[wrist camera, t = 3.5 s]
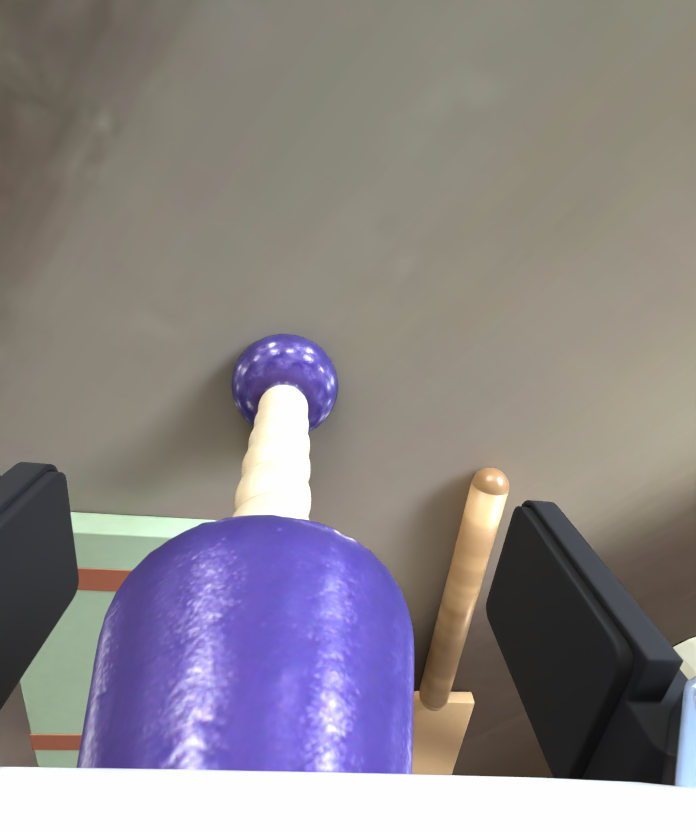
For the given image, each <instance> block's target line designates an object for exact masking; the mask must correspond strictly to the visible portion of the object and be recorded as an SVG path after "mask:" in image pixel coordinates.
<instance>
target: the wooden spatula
mask: <svg viewBox="0 0 696 832" xmlns="http://www.w3.org/2000/svg"><path fill="white" fill-rule="evenodd" d="M508 491H509V482H508V479H507V478H506V476H505V475H504V474H503V473H502V472H501V471H500V470H498V469H495V468H484V469H481V470H479V471H478V472H477V473H476V474H475V475H474V477H473V479H472V482H471V486H470V490H469V494H468V498H467V502H466V506H465V510H464V514H463V518H462V522H461V526H460V530H459V534H458V538H457V542H456V546H455V550H454V554H453V557H452V561H451V565H450V569H449V573H448V577H447V581H446V585H445V589H444V593H443V597H442V601H441V605H440V609H439V613H438V617H437V621H436V625H435V629H434V633H433V637H432V641H431V645H430V649H429V653H428V657H427V661H426V665H425V669H424V673H423V677H422V680H421V684H420V688H419V691H414V693H413V758H412V774H420V775H452V771H453V768H454V765H455V762H456V759H457V756H458V753H459V750H460V747H461V744H462V740H463V737H464V734H465V731H466V728H467V725H468V722H469V719H470V716H471V713H472V709H473V706H474V700H473V697H472V694H471V692H450V691H451V688H452V684H453V681H454V678H455V674H456V671H457V667H458V664H459V660H460V657H461V653H462V650H463V646H464V643H465V640H466V636H467V633H468V629H469V626H470V622H471V619H472V615H473V612H474V608H475V605H476V602H477V598H478V595H479V591H480V588H481V584H482V581H483V577H484V574H485V570H486V567H487V564H488V560H489V557H490V553H491V550H492V546H493V543H494V539H495V536H496V532H497V529H498V526H499V522H500V519H501V515H502V512H503V508H504V505H505V501H506V498H507V494H508Z"/></svg>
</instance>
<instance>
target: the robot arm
mask: <svg viewBox="0 0 696 832" xmlns="http://www.w3.org/2000/svg"><path fill="white" fill-rule="evenodd" d="M78 584H79V575H78V567H77V559H76V551H75V544H74V536H73V528H72V520H71V512H70V505H69V497H68V489H67V481H66V477H65V475H64V474H63V473H62V472H58V471H57V469H56V467H55V466H54V465H52V464H40V463H27V462H20V463H18V464H16V465H15V466H13V467H12V468H11V469H10V470H8V471H7V472H6V473H5V474H3V475H2V476H1V477H0V710H1V708H2V707H3V705H4V703H5V702H6V700H7V699H8V697H9V696H10V694H11V693H12V691H13V690H14V688H15V687H16V685H17V684H18V682H19V681H20V679H21V678H22V676H23V675H24V673H25V671H26V670H27V668H28V667H29V665H30V664H31V662H32V661H33V659H34V658H35V656H36V655H37V653H38V652H39V650H40V649H41V647H42V646H43V644H44V643H45V641H46V640H47V638H48V636H49V635H50V633H51V632H52V630H53V629H54V627H55V626H56V624H57V623H58V621H59V620H60V618H61V617H62V615H63V614H64V612H65V611H66V609H67V608H68V606H69V604H70V603H71V601H72V600H73V598H74V597H75V595H76V592H77V589H78ZM486 611H487V617H488V620H489V622H490V625H491V627H492V630H493V632H494V635H495V637H496V639H497V642H498V644H499V647H500V649H501V652H502V654H503V656H504V659H505V661H506V664H507V666H508V669H509V671H510V673H511V676H512V678H513V681H514V683H515V686H516V688H517V690H518V693H519V695H520V698H521V700H522V703H523V705H524V707H525V710H526V712H527V715H528V717H529V720H530V722H531V724H532V727H533V729H534V732H535V734H536V737H537V739H538V741H539V744H540V746H541V749H542V751H543V754H544V756H545V758H546V761H547V763H548V766H549V768H550V771H551V773H552V775H553V777H554V778H533V777H495V776H457V775H420V774H382V773H336V772H289V771H239V770H188V769H125V768H56V767H0V832H696V676H695V677H693V678H691V679H690V680H688V678H687V677H686V676H685V675H684V673H683V672H682V671H681V670H680V667H681V665H682V663H683V659H682V658H681V657H680V656H679V655H678V653H677V652H676V651H675V650H674V648H673V647H672V646H671V645H670V643H669V642H668V641H667V640H666V639H665V637H664V636H663V635H662V634H661V632H660V631H659V630H658V629H657V628H656V626H655V625H654V624H653V623H652V621H651V620H650V619H649V618H648V616H647V615H646V614H645V613H644V612H643V610H642V609H641V608H640V607H639V605H638V604H637V603H636V602H635V601H634V599H633V598H632V597H631V596H630V594H629V593H628V592H627V591H626V589H625V588H624V587H623V586H622V585H621V583H620V582H619V581H618V580H617V578H616V577H615V576H614V575H613V574H612V572H611V571H610V570H609V569H608V567H607V566H606V565H605V564H604V562H603V561H602V560H601V559H600V558H599V556H598V555H597V554H596V553H595V551H594V550H593V549H592V548H591V547H590V545H589V544H588V543H587V542H586V540H585V539H584V538H583V537H582V535H581V534H580V533H579V532H578V531H577V529H576V528H575V527H574V526H573V524H572V523H571V522H570V521H569V520H568V518H567V517H566V516H565V515H564V513H563V512H562V511H561V510H560V509H559V507H558V506H557V505H556V504H555V503H553V502H543V501H530V500H527V501H525V502H524V503H523V504H522V506H518V507H516V508H515V509H514V512H513V515H512V518H511V521H510V525H509V528H508V531H507V535H506V538H505V542H504V545H503V548H502V552H501V555H500V558H499V562H498V565H497V568H496V572H495V575H494V578H493V582H492V585H491V589H490V592H489V595H488V599H487V603H486Z"/></svg>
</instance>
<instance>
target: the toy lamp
mask: <svg viewBox="0 0 696 832" xmlns="http://www.w3.org/2000/svg"><path fill="white" fill-rule="evenodd" d="M337 390H338V383H337V376H336V372H335V369H334V367H333V364H332V362H331V360H330V358H329V357H328V356H327V355H326V353H325V352H324V351H323V350H322V349H321V348H320V347H319V346H317V345H316V344H314V343H313V342H311V341H309V340H307V339H305V338H303V337H300V336H296V335H288V334H279V335H273V336H269V337H266V338H263V339H261V340H259V341H257V342H255V343H253V344H252V345H251V346H250V347H248V349H246V350H245V351H244V353H243V354H242V355H241V357H240V358H239V359H238V361H237V364H236V366H235V369H234V372H233V376H232V392H233V398H234V401H235V403H236V406H237V408H238V410H239V412H240V413H241V415H242V416H243V418H244V419H245V420H246V421H247V422H248V423H250V424H251V425H252V426H253V427H254V429H253V431H252V433H251V435H250V438H249V443H248V451H247V453H246V455H245V457H244V459H243V463H242V479H241V481H240V483H239V485H238V487H237V490H236V493H235V499H234V511H235V513H234V515H233V516H232V517H229V518H225V519H222V520H219V521H214V522H205V523H201V524H200V525H198V526H196V527H193V528H191V529H189V530H186V531H184V532H182V533H180V534H179V535H177V536H175V537H173V538H171V539H169V540H168V541H167V542H165V543H164V544H163V545H161V546H160V547H158V548H157V549H155V550H153V551H152V552H150V553H149V554H148V555H147V556H146V557H145V558H144V559H143V560H142V561H141V562H140V563H139V564H138V565H137V566H136V567H135V568H134V569H133V570H132V571H131V572H130V573H129V575H128V576H127V578H126V579H125V580H124V582H123V583H122V585H121V586H120V587H119V589H118V590H117V592H116V593H115V596H114V598H113V600H112V602H111V604H110V606H109V608H108V610H107V613H106V615H105V617H104V621H103V625H102V628H101V631H100V634H99V639H98V644H97V649H96V654H95V660H94V665H93V672H92V679H91V685H90V690H89V696H88V702H87V707H86V713H85V719H84V725H83V731H82V737H81V743H80V749H79V755H78V761H77V767H76V768H125V769H188V770H239V771H289V772H336V773H382V774H412V758H413V693H414V637H413V629H412V623H411V619H410V615H409V611H408V608H407V605H406V602H405V599H404V596H403V594H402V592H401V590H400V587H399V586H398V585H397V583H396V581H395V580H394V578H393V577H392V575H391V574H390V572H389V571H388V569H387V568H386V566H384V565H383V564H382V563H381V562H380V561H379V560H378V559H377V558H376V557H375V556H374V554H373V553H372V552H371V551H370V550H368V549H366V548H365V547H363V546H362V545H361V544H360V543H359V542H357V541H355V540H354V539H352V538H350V537H347V536H345V535H343V534H340V533H339V532H338V531H336V530H335V529H333V528H330V527H328V526H325V525H323V524H320V523H317V522H314V521H309V518H308V515H309V512H310V508H311V492H310V488H309V484H308V481H309V477H310V460H309V457H308V455H309V450H310V440H309V436H308V432H309V431H311V430H313V429H314V428H316V427H318V426H319V425H320V424H321V423H322V422H323V421H324V420H325V418H327V416H328V415H329V413H330V411H331V410H332V408H333V405H334V403H335V400H336V396H337Z"/></svg>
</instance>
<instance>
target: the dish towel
mask: <svg viewBox="0 0 696 832" xmlns="http://www.w3.org/2000/svg"><path fill="white" fill-rule="evenodd" d="M71 520H72V528H73V536H74V544H75V551H76V559H77V567H78V575H79V584H78V589H77V592H76V595H75V597H74V598H73V600H72V601H71V603H70V604H69V606H68V608H67V609H66V611H65V612H64V614H63V615H62V617H61V618H60V620H59V621H58V623H57V624H56V626H55V627H54V629H53V630H52V632H51V633H50V635H49V636H48V638H47V640H46V641H45V643H44V644H43V646H42V647H41V649H40V650H39V652H38V653H37V655H36V656H35V658H34V659H33V661H32V662H31V664H30V665H29V667H28V668H27V670H26V671H25V673H24V675H23V676H22V678H21V679H20V685H21V690H22V694H23V699H24V704H25V708H26V713H27V717H28V722H29V727H30V731H31V734H30V735H29V736H30V740H31V745H32V750H35V754H36V759H37V764H38V767H56V768H76V767H77V761H78V755H79V749H80V743H81V737H82V731H83V725H84V719H85V713H86V707H87V702H88V696H89V690H90V685H91V679H92V672H93V665H94V660H95V654H96V649H97V644H98V639H99V634H100V631H101V628H102V625H103V621H104V617H105V615H106V613H107V610H108V608H109V606H110V604H111V602H112V600H113V598H114V596H115V593H116V592H117V590H118V589H119V587H120V586H121V585H122V583H123V582H124V580H125V579H126V578H127V576H128V575H129V573H130V572H131V571H132V570H133V569H134V568H135V567H136V566H137V565H138V564H139V563H140V562H141V561H142V560H143V559H144V558H145V557H146V556H147V555H148V554H149V553H150V552H152V551H153V550H155V549H157V548H158V547H160V546H161V545H163V544H164V543H165V542H167V541H168V540H169V539H171V538H173V537H175V536H177V535H179V534H180V533H182V532H184V531H186V530H189V529H191V528H193V527H196V526H198V525H200V524H201V523H205V522H214V521H215V520H202V519H184V518H166V517H148V516H131V515H113V514H95V513H77V512H71Z"/></svg>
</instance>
